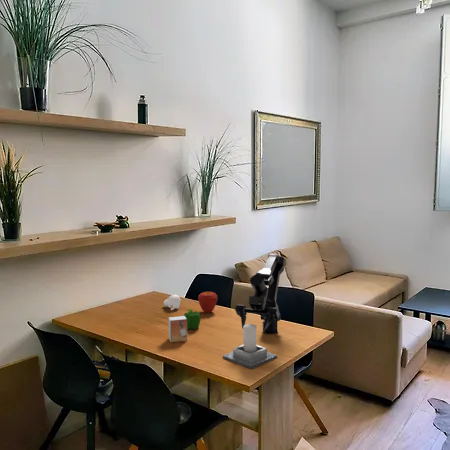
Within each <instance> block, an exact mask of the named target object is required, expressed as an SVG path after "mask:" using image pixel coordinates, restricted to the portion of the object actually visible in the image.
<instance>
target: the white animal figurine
mask: <svg viewBox="0 0 450 450" xmlns="http://www.w3.org/2000/svg"><path fill="white" fill-rule="evenodd" d="M181 302H182V300H181V298H180V296H179V295H177V294H172V295H170V296H169V297H168V298H166V299H165V300H164V301H163V305H164V308H168V307H169V308H170V311H174V310H175V309H177V310H178V309H179V308H180V304H181Z"/></svg>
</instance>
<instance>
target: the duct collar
mask: <svg viewBox="0 0 450 450" xmlns="http://www.w3.org/2000/svg"><path fill="white" fill-rule="evenodd" d="M222 358H223V359H225V360H226V361H230V362H233V363H235V364H236V365H239V366H242V367H244V368H247V369H250V370H253V369H255V368H257V367H259V366H261V365H264V364H266V363H268V362H270V361H273V360H275V359H277V358H278V355H277V354H274V353H272V352H269V351H268V348H266V347H263V346H262V345H261V346H260V345H258V344H257V351H256V352H254V353H251V354H250V353H247V352H244V351H243V344H241V345H239V346H236V347H234V348H233V349H232V351H231V352H228V353H226V354H223V355H222Z"/></svg>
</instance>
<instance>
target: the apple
mask: <svg viewBox="0 0 450 450" xmlns="http://www.w3.org/2000/svg"><path fill="white" fill-rule="evenodd" d="M197 301H198V304H199V306H200V308H201V310H202V311H203V312H204V313H206V314H207V313H209V314H210V313H212V312H213V311H214V310H215V307H216V305H217V303H218V302H217V301H218V295H217V294H216V292H213V291H203V292H201V293H200V294H199V295H198V298H197Z"/></svg>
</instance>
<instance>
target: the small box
mask: <svg viewBox="0 0 450 450" xmlns="http://www.w3.org/2000/svg"><path fill="white" fill-rule="evenodd" d="M168 340H169V341H170V343H176V342H187V341H188V329H187V319H186V317H185V316H184V315H180V316H169V317H168Z"/></svg>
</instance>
